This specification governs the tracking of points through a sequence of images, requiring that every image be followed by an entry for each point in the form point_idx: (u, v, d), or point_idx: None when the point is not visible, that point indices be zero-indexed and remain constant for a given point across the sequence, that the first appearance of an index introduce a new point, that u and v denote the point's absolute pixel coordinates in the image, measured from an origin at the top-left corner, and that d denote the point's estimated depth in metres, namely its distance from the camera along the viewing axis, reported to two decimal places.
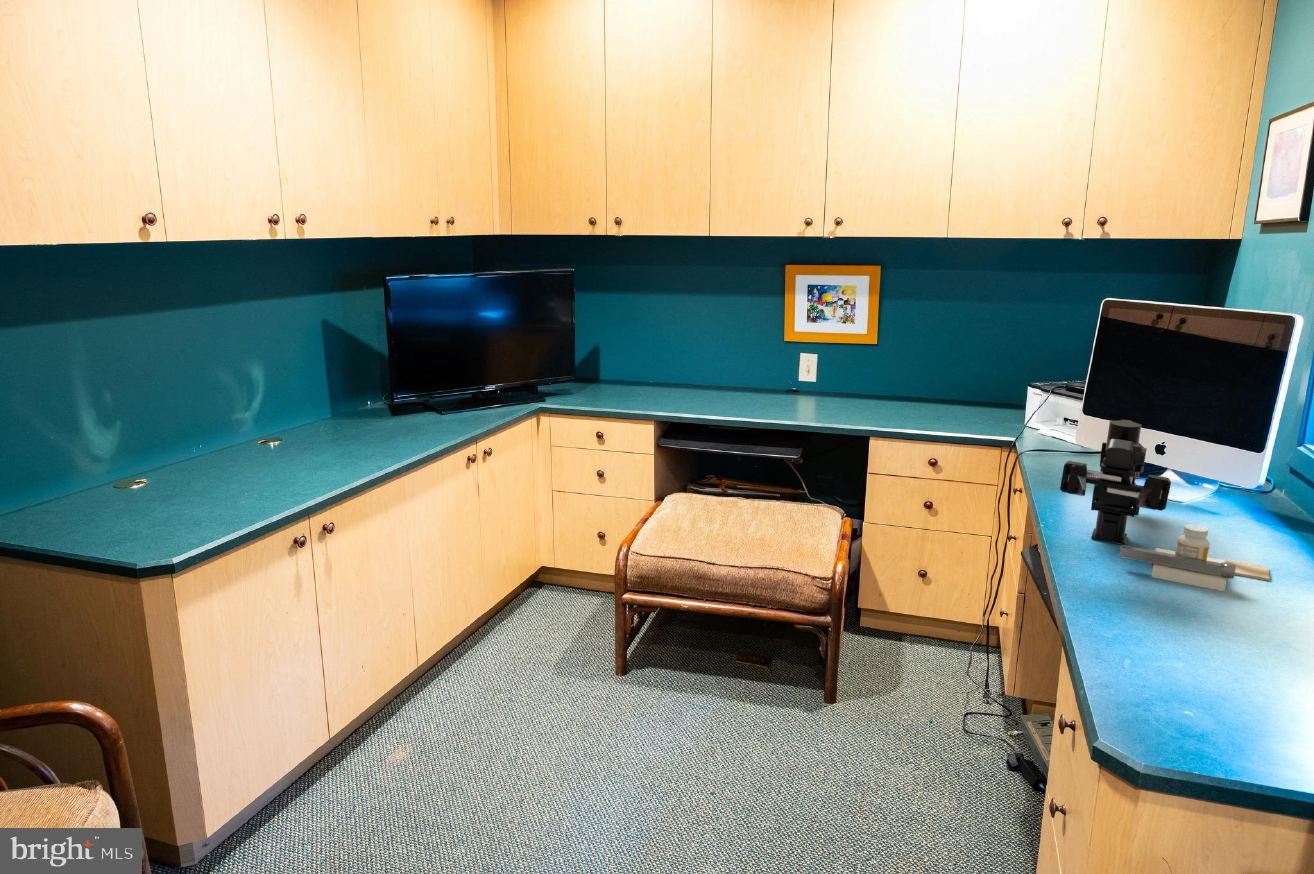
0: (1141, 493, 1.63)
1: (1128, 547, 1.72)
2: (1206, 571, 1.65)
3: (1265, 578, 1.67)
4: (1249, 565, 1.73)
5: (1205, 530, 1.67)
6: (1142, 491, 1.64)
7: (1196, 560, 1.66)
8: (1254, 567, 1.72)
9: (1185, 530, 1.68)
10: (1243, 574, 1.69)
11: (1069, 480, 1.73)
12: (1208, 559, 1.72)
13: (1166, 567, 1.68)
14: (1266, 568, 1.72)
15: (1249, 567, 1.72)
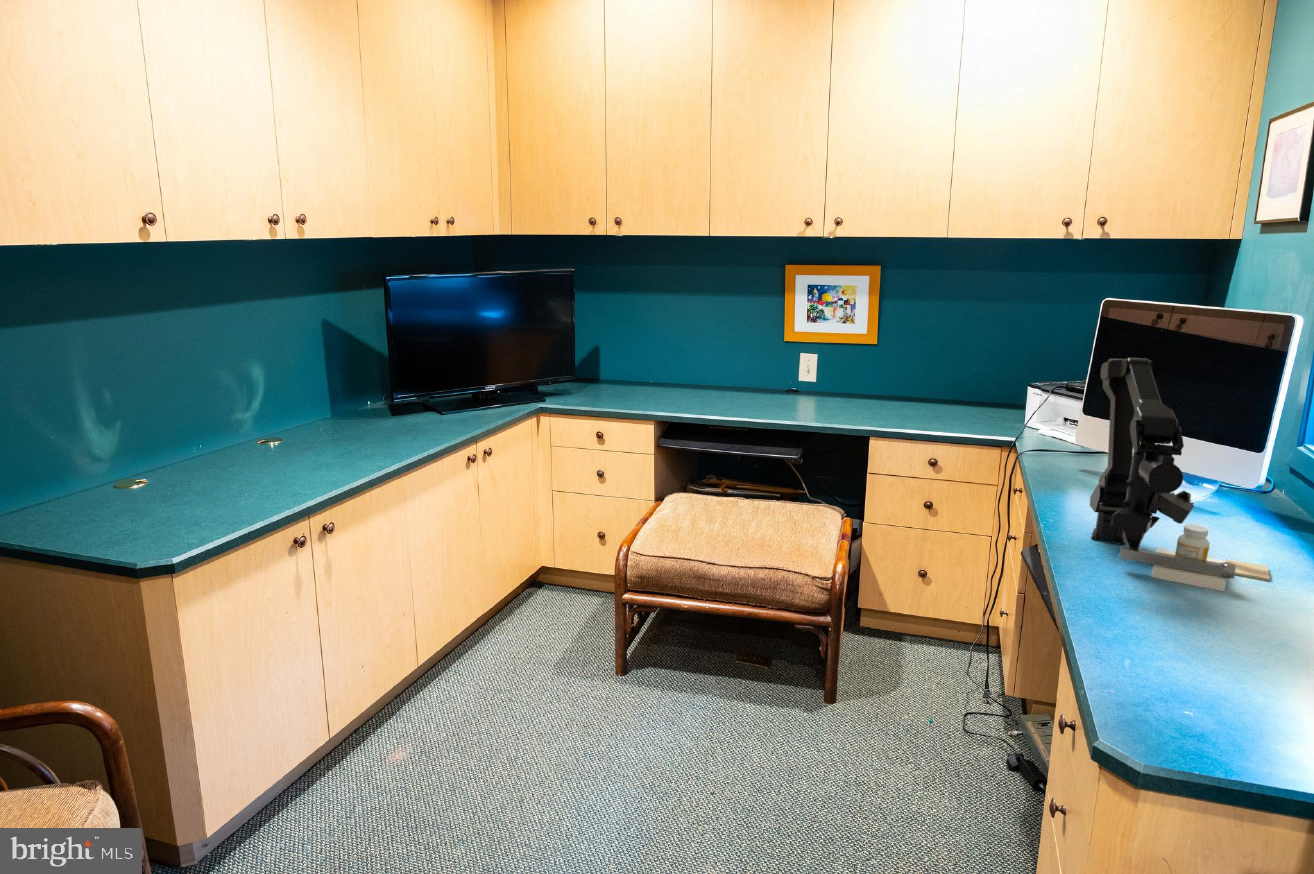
0: None
1: (1128, 548, 1.71)
2: (1206, 571, 1.64)
3: (1265, 578, 1.67)
4: (1249, 565, 1.73)
5: (1205, 530, 1.67)
6: (1143, 535, 1.71)
7: (1196, 560, 1.65)
8: (1254, 567, 1.72)
9: (1185, 530, 1.68)
10: (1243, 574, 1.69)
11: None
12: (1208, 559, 1.72)
13: (1166, 567, 1.68)
14: (1266, 568, 1.72)
15: (1249, 567, 1.72)
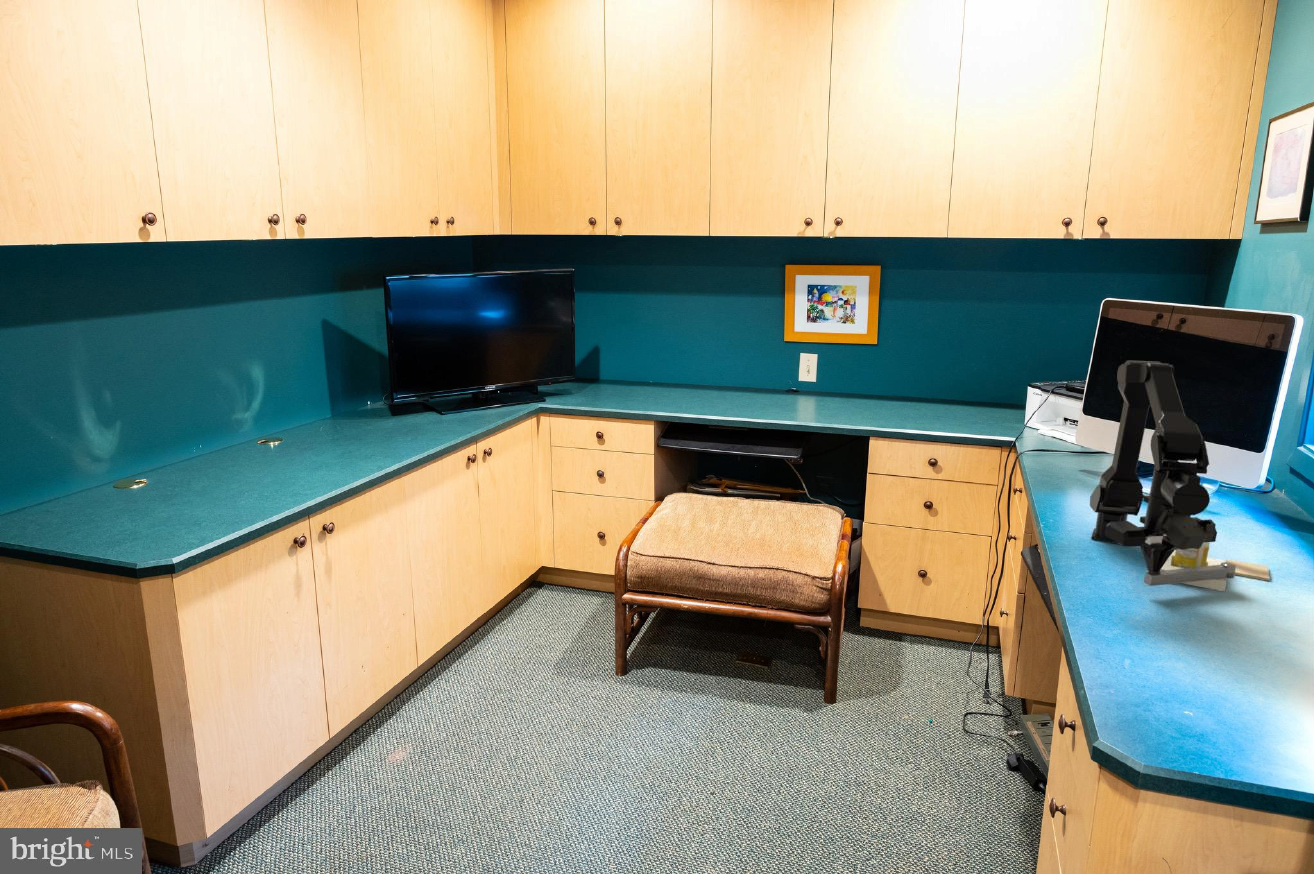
0: (1162, 562, 1.60)
1: (1153, 572, 1.59)
2: (1216, 577, 1.62)
3: (1265, 578, 1.67)
4: (1249, 565, 1.73)
5: None
6: (1163, 558, 1.59)
7: (1207, 568, 1.62)
8: (1254, 567, 1.72)
9: None
10: (1243, 574, 1.69)
11: None
12: (1208, 559, 1.72)
13: (1166, 567, 1.68)
14: (1266, 568, 1.72)
15: (1249, 567, 1.72)
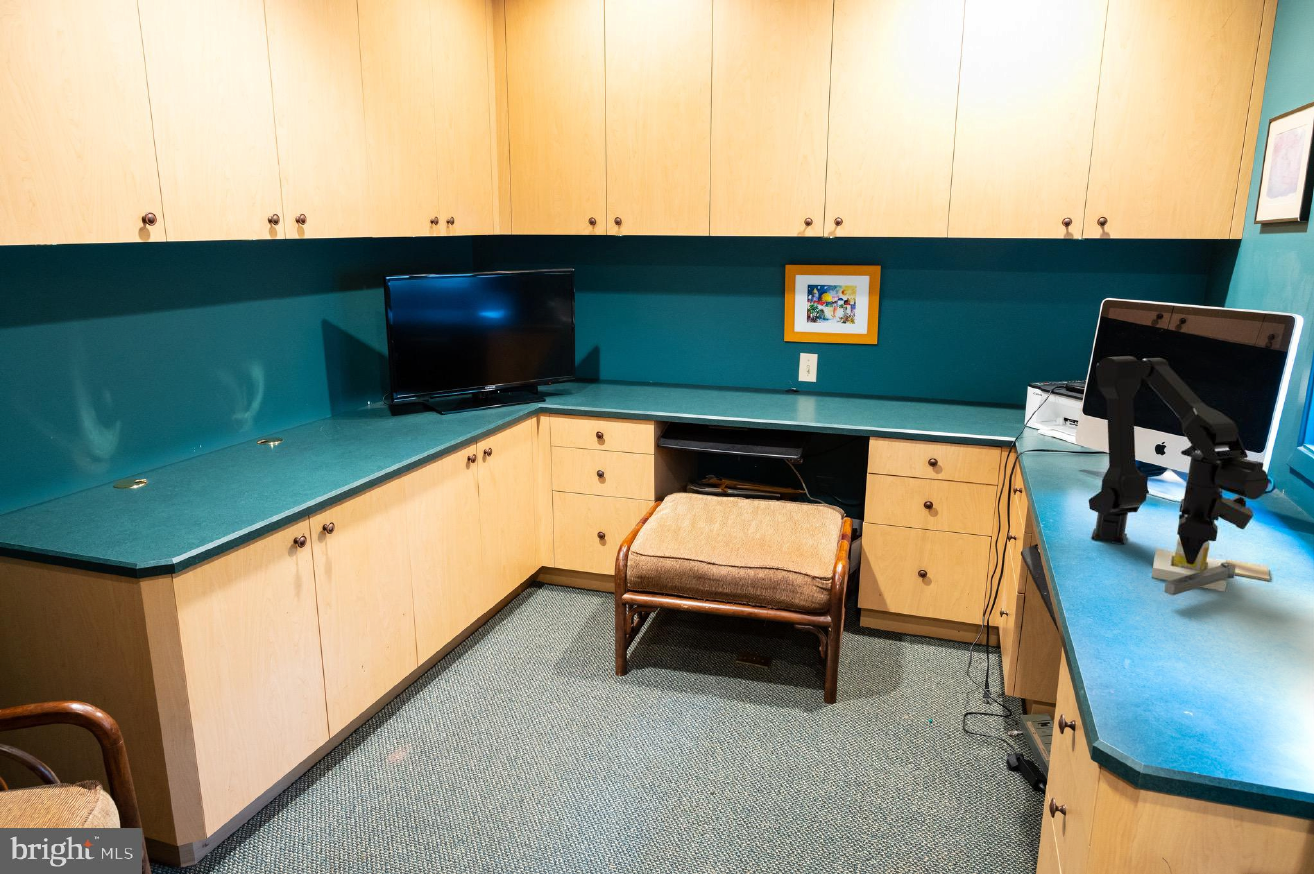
0: None
1: (1172, 581, 1.56)
2: (1220, 578, 1.61)
3: (1265, 578, 1.67)
4: (1249, 565, 1.73)
5: None
6: None
7: (1213, 571, 1.61)
8: (1254, 567, 1.72)
9: None
10: (1243, 574, 1.69)
11: None
12: (1208, 559, 1.72)
13: (1166, 567, 1.68)
14: (1266, 568, 1.72)
15: (1249, 567, 1.72)
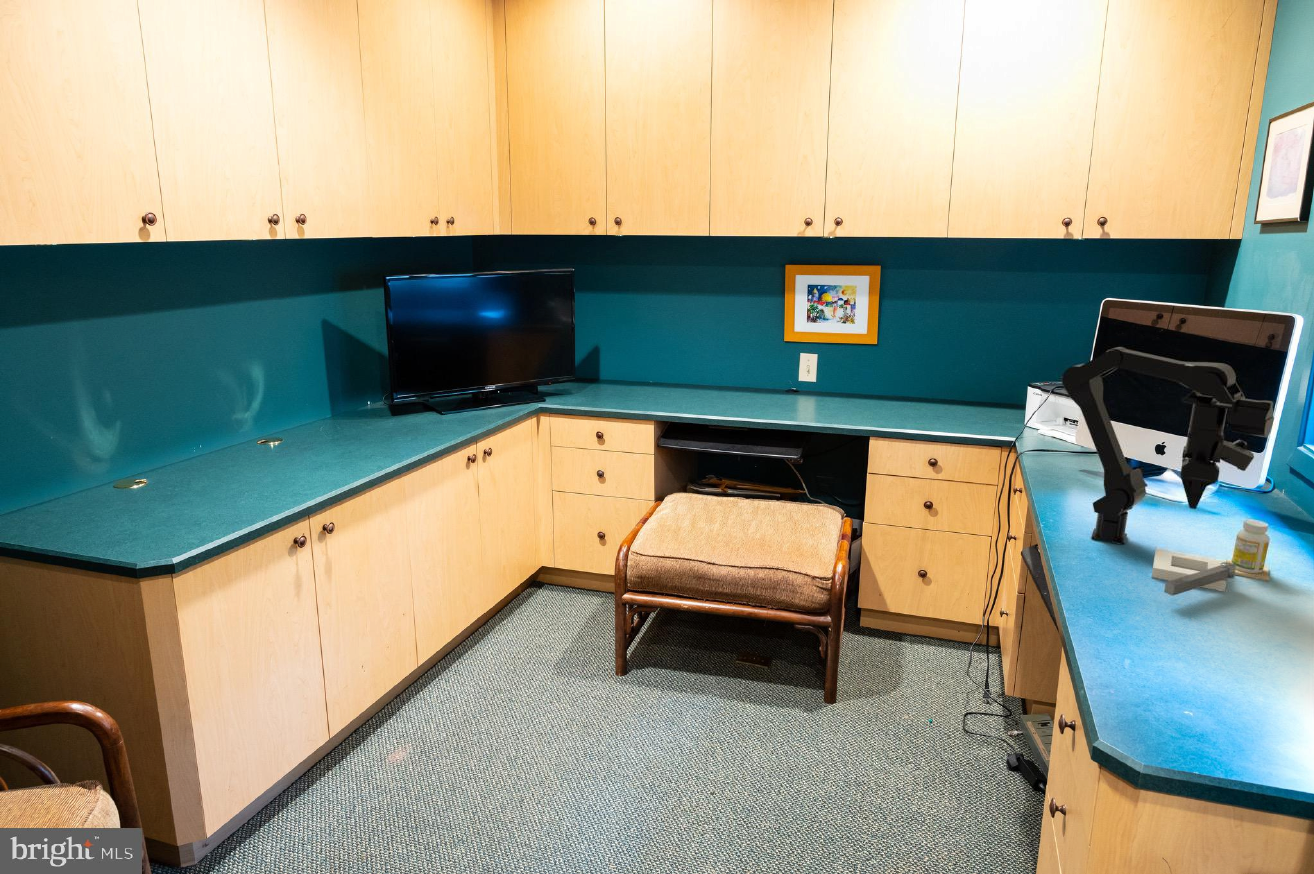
0: None
1: (1172, 581, 1.56)
2: (1220, 578, 1.61)
3: (1265, 578, 1.67)
4: None
5: (1265, 525, 1.68)
6: None
7: (1213, 571, 1.61)
8: None
9: (1245, 525, 1.70)
10: (1243, 574, 1.69)
11: None
12: (1208, 559, 1.72)
13: (1166, 567, 1.68)
14: (1266, 568, 1.72)
15: None
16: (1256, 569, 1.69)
